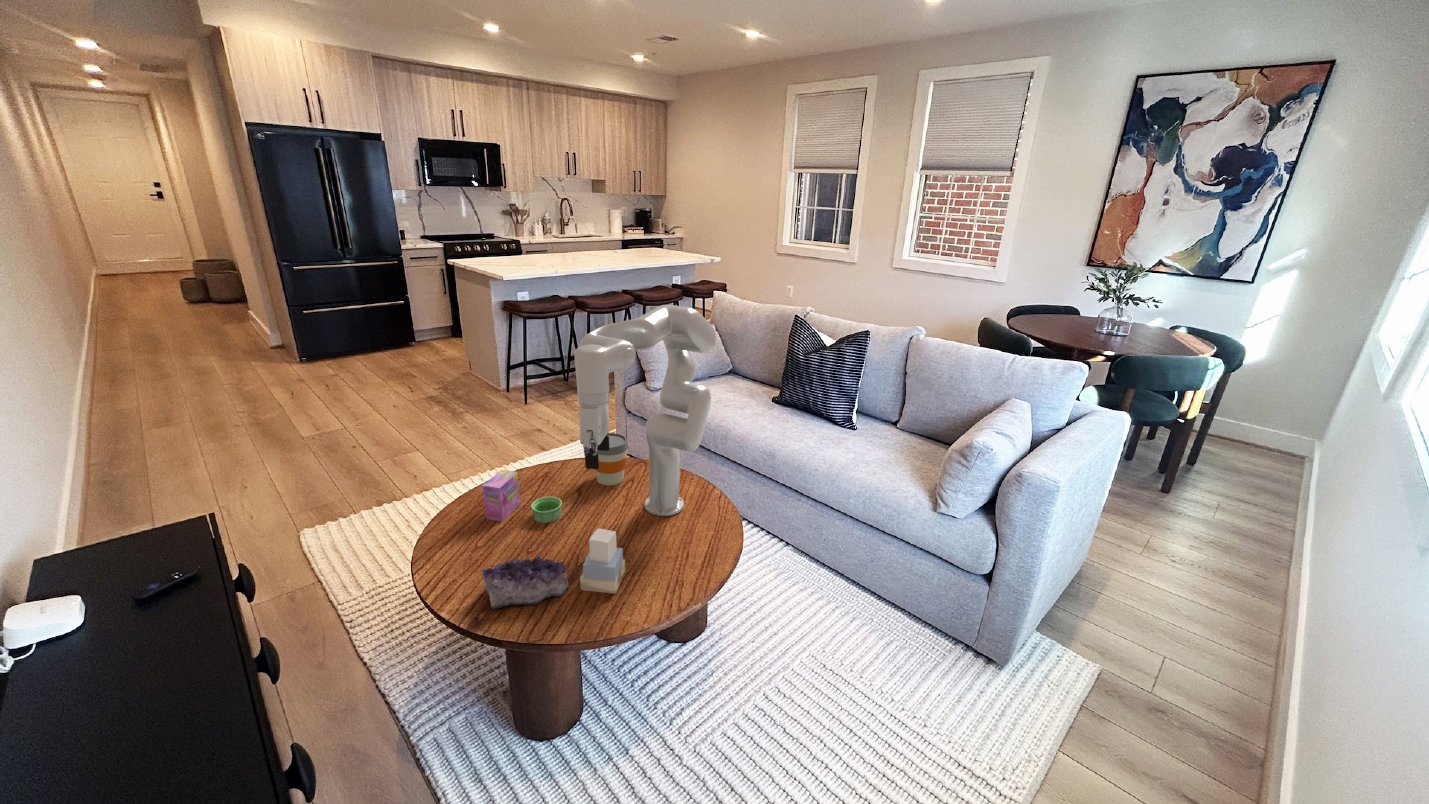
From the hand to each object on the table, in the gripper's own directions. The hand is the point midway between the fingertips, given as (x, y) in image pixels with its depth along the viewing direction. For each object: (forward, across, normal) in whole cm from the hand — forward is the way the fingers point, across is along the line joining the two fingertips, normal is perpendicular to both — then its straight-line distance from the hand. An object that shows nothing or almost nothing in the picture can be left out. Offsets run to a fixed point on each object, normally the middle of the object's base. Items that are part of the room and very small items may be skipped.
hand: (598, 459), depth 139 cm
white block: (+23, +8, +2) cm, 25 cm away
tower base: (+31, +9, +2) cm, 32 cm away
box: (+31, -18, -37) cm, 52 cm away
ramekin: (+32, -18, -23) cm, 43 cm away
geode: (+31, +16, -15) cm, 38 cm away
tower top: (+27, +9, +2) cm, 29 cm away
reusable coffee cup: (+32, -44, -10) cm, 55 cm away
